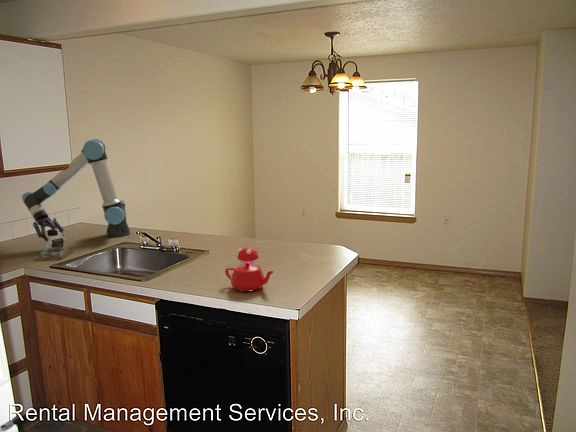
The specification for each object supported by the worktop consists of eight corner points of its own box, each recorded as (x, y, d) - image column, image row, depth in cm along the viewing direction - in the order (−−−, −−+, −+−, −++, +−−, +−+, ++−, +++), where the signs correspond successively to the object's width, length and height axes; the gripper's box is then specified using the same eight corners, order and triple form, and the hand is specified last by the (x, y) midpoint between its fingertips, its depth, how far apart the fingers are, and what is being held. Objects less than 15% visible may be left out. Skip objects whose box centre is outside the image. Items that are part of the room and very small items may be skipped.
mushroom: (239, 266, 245) (238, 244, 243) (260, 266, 245) (259, 244, 242) (236, 273, 235) (235, 250, 232) (258, 273, 234) (257, 250, 232)
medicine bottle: (52, 251, 278) (49, 231, 275) (46, 249, 282) (43, 230, 280) (64, 248, 284) (61, 229, 281) (58, 246, 288) (55, 227, 285)
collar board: (72, 252, 276) (71, 246, 276) (61, 259, 263) (60, 253, 262) (48, 253, 276) (47, 247, 275) (36, 260, 262) (35, 254, 262)
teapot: (217, 290, 212) (215, 264, 210) (234, 279, 226) (233, 254, 224) (267, 298, 202) (266, 270, 200) (282, 286, 216) (281, 260, 214)
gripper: (53, 214, 296) (71, 243, 290) (20, 221, 279) (39, 251, 274) (57, 207, 292) (75, 235, 286) (24, 213, 275) (43, 243, 270)
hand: (57, 243), depth 280 cm, fingers closed on medicine bottle, 7 cm apart
